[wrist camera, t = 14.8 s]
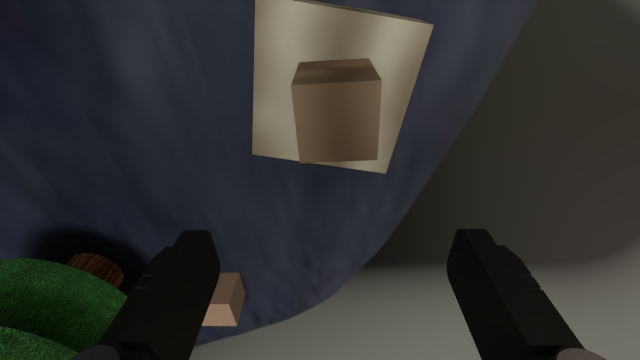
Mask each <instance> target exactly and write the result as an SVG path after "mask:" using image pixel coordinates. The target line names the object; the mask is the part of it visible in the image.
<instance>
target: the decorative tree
mask: <svg viewBox="0 0 640 360" xmlns="http://www.w3.org/2000/svg"><path fill="white" fill-rule="evenodd" d="M123 279H124V275H123V272H122V270H121V269H120V267H119V266H118V265H116V264H115V263H114V262H112V261H111V260H109V259H107V258H105V257H103V256H100V255H96V254H91V253H81V254H77V255H75V256H74V257H72V259H71V260H70V261H69V262H68V263H67V264H66V265H63V264H60V263H56V262H51V261H46V260H39V259H28V258H15V259H6V260H1V261H0V360H70V359H71V358H73V357H74V356H75V355H77V354H79V353H80V352H82V351H84V350H86V349H88V348H91V347H94V346H96V344H97V343H98V342H99V341H100V339H101V338H102V336H103V335H104V333H105V332H106V330H107V328H108V327H109V325H110V324H111V322H112V321H113V319H114V318H115V316H116V314H117V313H118V311H119V310H120V308H121V307H122V305H123V304H124V302H125V301H126V299H127V296H126V295H125V294H124V293H122V292H121V291H120V290H118V289H117V288H118V287H119V285H120V284H121V282H122V281H123Z"/></svg>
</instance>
